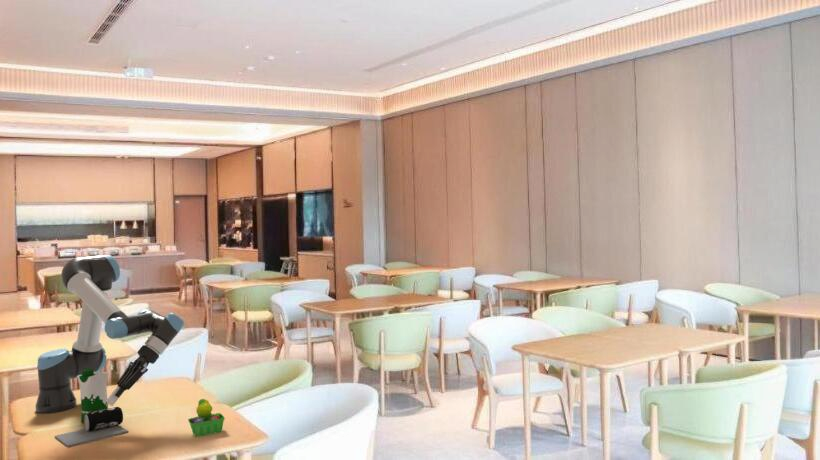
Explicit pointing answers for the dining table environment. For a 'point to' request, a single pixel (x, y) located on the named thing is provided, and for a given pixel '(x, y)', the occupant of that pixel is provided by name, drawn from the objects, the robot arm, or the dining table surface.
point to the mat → (89, 435)
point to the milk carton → (92, 391)
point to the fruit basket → (206, 420)
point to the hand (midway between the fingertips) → (109, 403)
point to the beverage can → (103, 418)
